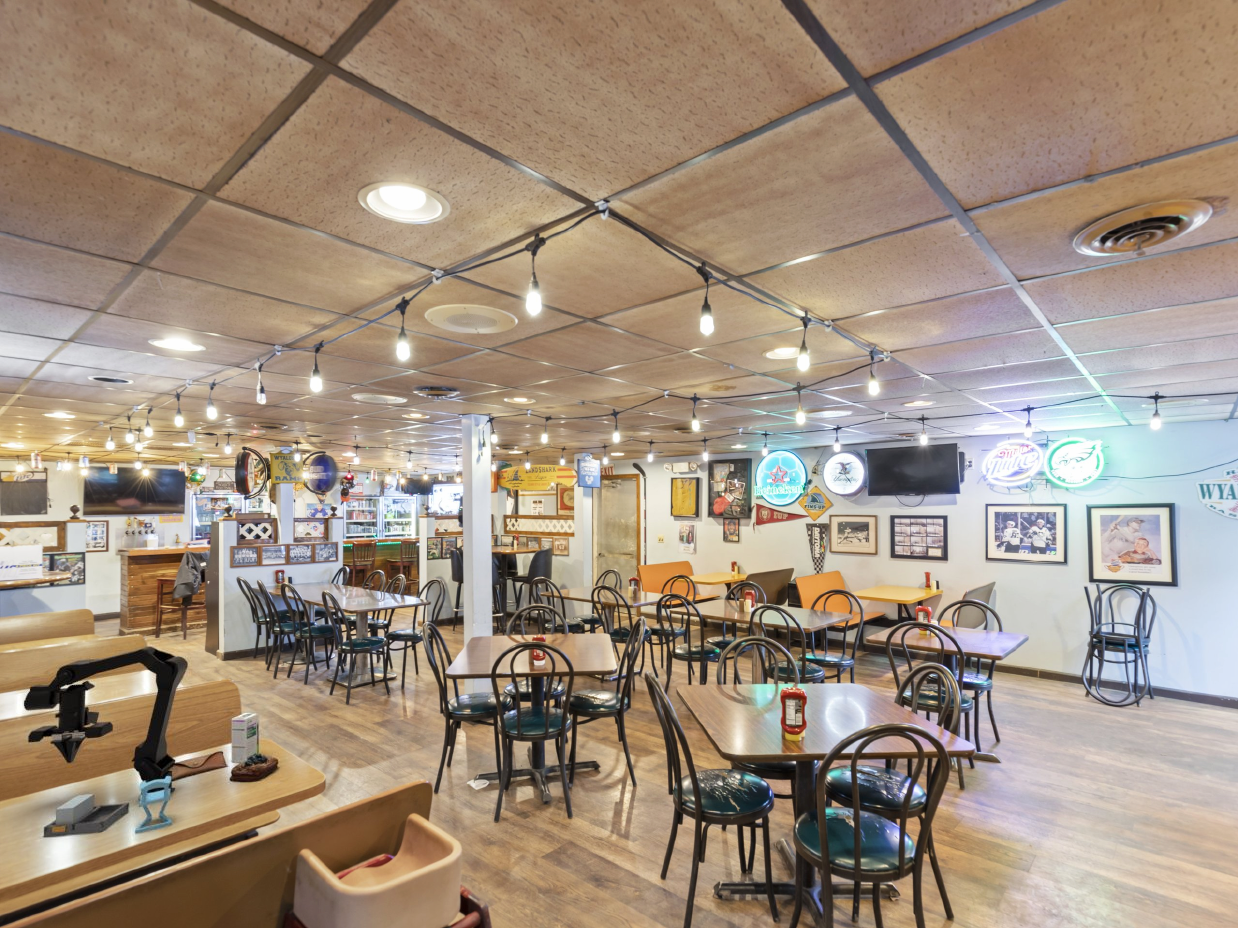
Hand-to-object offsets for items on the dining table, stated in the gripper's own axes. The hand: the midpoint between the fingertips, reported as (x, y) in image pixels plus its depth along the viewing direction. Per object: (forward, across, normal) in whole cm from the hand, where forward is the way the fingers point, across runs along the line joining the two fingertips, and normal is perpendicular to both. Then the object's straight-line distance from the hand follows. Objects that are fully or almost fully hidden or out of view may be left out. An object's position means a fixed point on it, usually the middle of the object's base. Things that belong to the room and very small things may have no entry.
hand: (70, 762), depth 180 cm
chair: (+12, -31, +16) cm, 37 cm away
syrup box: (+12, -36, -26) cm, 46 cm away
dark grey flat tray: (+12, -13, +13) cm, 22 cm away
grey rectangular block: (+11, -10, +13) cm, 20 cm away
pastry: (+13, -44, -13) cm, 48 cm away
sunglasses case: (+13, -24, -19) cm, 33 cm away
